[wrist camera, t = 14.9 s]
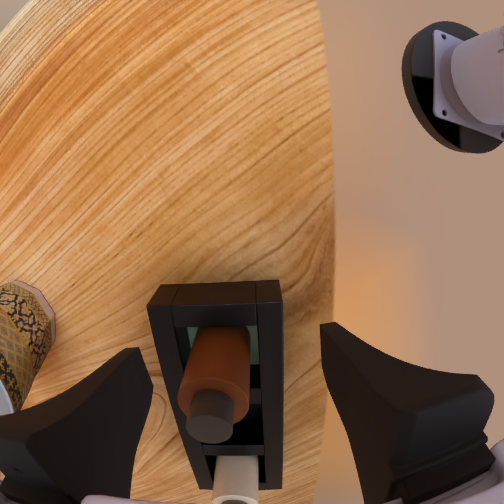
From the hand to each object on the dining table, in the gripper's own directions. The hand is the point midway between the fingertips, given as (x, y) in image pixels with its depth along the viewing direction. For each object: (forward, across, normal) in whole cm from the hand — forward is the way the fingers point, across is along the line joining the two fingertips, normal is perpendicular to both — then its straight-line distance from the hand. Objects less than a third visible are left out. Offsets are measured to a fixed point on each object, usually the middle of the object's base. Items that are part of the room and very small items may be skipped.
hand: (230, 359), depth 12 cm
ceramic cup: (+12, +21, +2) cm, 24 cm away
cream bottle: (+10, +3, +18) cm, 21 cm away
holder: (+11, +2, +12) cm, 16 cm away
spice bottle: (+10, +2, +5) cm, 11 cm away
